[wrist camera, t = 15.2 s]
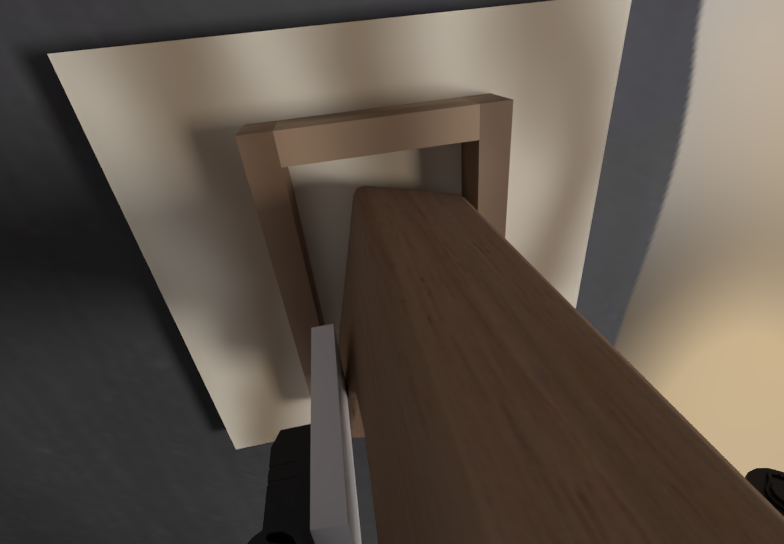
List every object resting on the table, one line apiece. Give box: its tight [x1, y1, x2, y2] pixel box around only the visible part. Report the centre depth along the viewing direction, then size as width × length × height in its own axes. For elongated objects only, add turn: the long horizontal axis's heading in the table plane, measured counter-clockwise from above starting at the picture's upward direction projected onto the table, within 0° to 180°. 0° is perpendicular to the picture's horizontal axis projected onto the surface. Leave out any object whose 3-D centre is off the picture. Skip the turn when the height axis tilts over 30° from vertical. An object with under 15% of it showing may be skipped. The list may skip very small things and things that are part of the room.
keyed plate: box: [47, 0, 631, 449], centre depth 18 cm, size 20×20×4 cm
